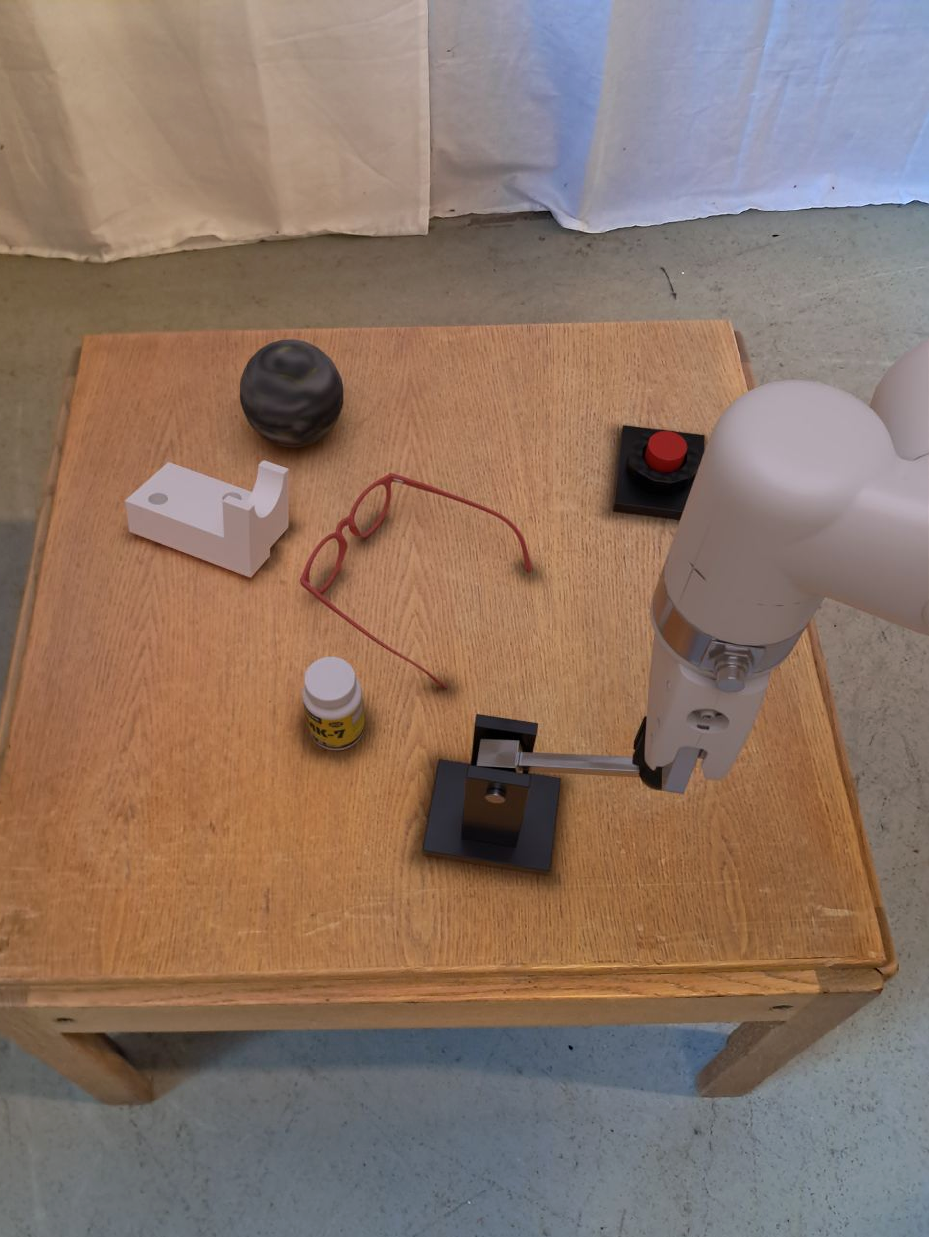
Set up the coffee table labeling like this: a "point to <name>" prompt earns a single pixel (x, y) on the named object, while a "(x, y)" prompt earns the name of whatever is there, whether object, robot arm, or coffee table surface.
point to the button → (665, 451)
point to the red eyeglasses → (354, 530)
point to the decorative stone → (291, 393)
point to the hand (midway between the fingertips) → (656, 757)
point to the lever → (560, 762)
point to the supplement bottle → (333, 703)
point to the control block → (654, 476)
